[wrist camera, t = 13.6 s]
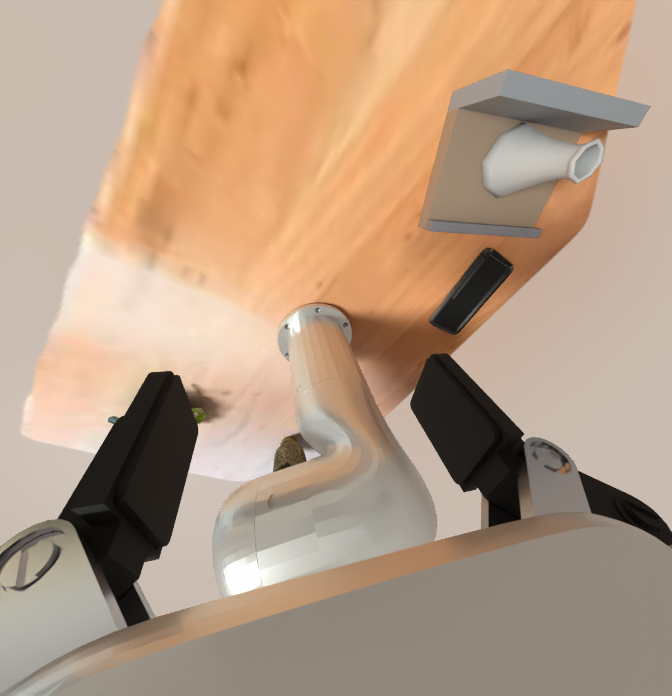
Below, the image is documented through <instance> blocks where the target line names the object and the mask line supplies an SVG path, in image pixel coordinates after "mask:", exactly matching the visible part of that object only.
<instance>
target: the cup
mask: <svg viewBox="0 0 672 696" xmlns="http://www.w3.org/2000/svg"><path fill="white" fill-rule="evenodd" d="M303 462H306V457H305V454H304V451H303V449H302V447H301V446H300V445H299V444H297V441H296V440H295V439H294V438H292V437H288V438H285V439H283V440H282V442H281V446H280V447H279V448H278V449H277V451H276V454H275V458H274V468H273V472H276V471H279V470H282V469H285V468H288V467H291V466H294V465H297V464H300V463H303Z"/></svg>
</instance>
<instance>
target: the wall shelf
mask: <svg viewBox="0 0 672 696" xmlns="http://www.w3.org/2000/svg"><path fill="white" fill-rule="evenodd" d="M650 107H651V106H648V105H644V104H640V103H636V102H633V101H629V100H625V99H621V98H617V97H613V96H609V95H606V94H602V93H598V92H594V91H590V90H586V89H582V88H579V87H575V86H571V85H567V84H563V83H559V82H555V81H551V80H548V79H544V78H540V77H536V76H532V75H528V74H524V73H521V72H517V71H513V70H509V69H508V70H505V71H503V72H500V73H498V74H495V75H493V76H490V77H488V78H485V79H483V80H480V81H478V82H476V83H473V84H471V85H468V86H466V87H463V88H461V89H458V90H456V91H453V93H452V97H451V101H450V105H449V109H448V113H447V117H446V120H445V124H444V128H443V132H442V136H441V140H440V143H439V147H438V151H437V155H436V159H435V163H434V167H433V170H432V174H431V178H430V182H429V186H428V190H427V194H426V197H425V201H424V205H423V209H422V213H421V217H420V220H419V224H418V226H419V227H421V228H424V229H426V230H429V231H435V232H450V233H465V234H481V235H496V236H511V237H526V238H538V237H539V235H540V233H541V231H542V229H538V228H534V226H535V224H536V222H537V220H538V218H539V216H540V214H541V212H542V210H543V208H544V206H545V204H546V202H547V200H548V198H549V196H550V194H551V192H552V190H553V189H554V187H555V185H556V183H557V181H558V180H552V181H546V182H542V183H539V184H536V185H533V186H530V187H527V188H524V189H521V190H519V191H516V192H514V193H511V194H508V195H506V196H503V197H500V198H498V199H496V198H495V197H494V196H493V195H492V194H491V193H489V192H488V191H487V190H486V189H485V188H484V185H483V167H482V162H483V160H484V159H485V157H486V156H487V154H488V153H489V151H490V150H491V148H492V146H493V145H494V143H495V142H496V140H497V139H498V137H499V136H500V135H501V134H503V133H504V132H506V131H508V130H509V129H511V128H513V127H515V126H516V125H518V124H520V123H521V122H525V123H527V124H529V125H531V126H532V127H534V128H536V129H538V130H539V131H541V132H543V133H545V134H547V135H549V136H551V137H553V138H555V139H557V140H559V141H562V142H567V143H572V144H576V143H577V141H578V139H579V137H580V135H581V133H586V132H596V131H605V130H615V129H624V128H633V127H639V125H640V123H641V122H642V120H643V118H644V117H645V115H646V113H647V112H648V110H649V108H650Z"/></svg>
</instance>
